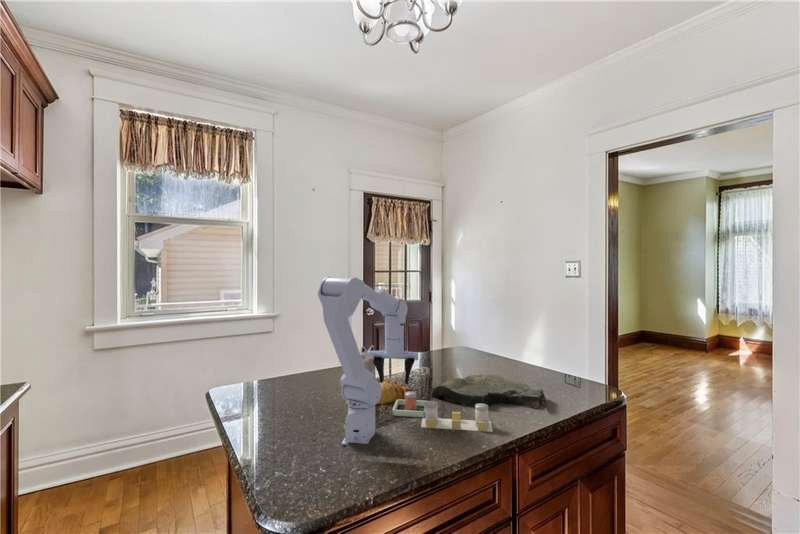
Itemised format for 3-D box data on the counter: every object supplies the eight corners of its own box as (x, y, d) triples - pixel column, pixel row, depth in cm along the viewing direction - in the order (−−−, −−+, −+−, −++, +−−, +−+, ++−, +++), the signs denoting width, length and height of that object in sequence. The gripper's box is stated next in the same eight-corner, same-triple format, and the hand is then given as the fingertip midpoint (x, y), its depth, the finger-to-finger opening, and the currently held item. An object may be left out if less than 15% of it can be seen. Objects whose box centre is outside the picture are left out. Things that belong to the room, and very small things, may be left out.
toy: (362, 390, 137) (362, 349, 137) (353, 375, 156) (353, 339, 155) (379, 388, 139) (379, 348, 139) (369, 373, 157) (368, 338, 157)
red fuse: (415, 414, 114) (415, 395, 114) (404, 413, 115) (403, 395, 115) (416, 409, 118) (416, 391, 118) (405, 408, 118) (405, 391, 118)
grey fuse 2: (488, 429, 103) (488, 408, 103) (475, 428, 104) (475, 407, 104) (487, 423, 107) (487, 403, 107) (474, 422, 107) (474, 403, 107)
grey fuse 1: (437, 425, 105) (437, 405, 105) (424, 425, 106) (424, 405, 106) (438, 420, 109) (438, 401, 109) (425, 419, 110) (425, 400, 109)
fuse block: (492, 435, 102) (492, 423, 102) (420, 430, 105) (420, 419, 105) (490, 424, 108) (490, 413, 108) (422, 420, 111) (422, 409, 111)
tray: (425, 420, 111) (425, 412, 111) (391, 418, 113) (391, 410, 113) (427, 408, 120) (427, 400, 120) (396, 406, 122) (396, 399, 122)
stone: (556, 387, 125) (512, 410, 105) (556, 406, 125) (511, 432, 105) (469, 364, 150) (420, 379, 130) (468, 380, 150) (419, 397, 130)
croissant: (354, 419, 120) (356, 402, 117) (347, 395, 129) (349, 378, 125) (414, 408, 128) (419, 391, 125) (404, 386, 137) (408, 369, 133)
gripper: (419, 336, 117) (419, 379, 118) (374, 334, 120) (374, 377, 120) (416, 340, 111) (416, 386, 111) (368, 338, 113) (368, 384, 113)
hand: (394, 382), depth 115 cm, fingers open, 7 cm apart
